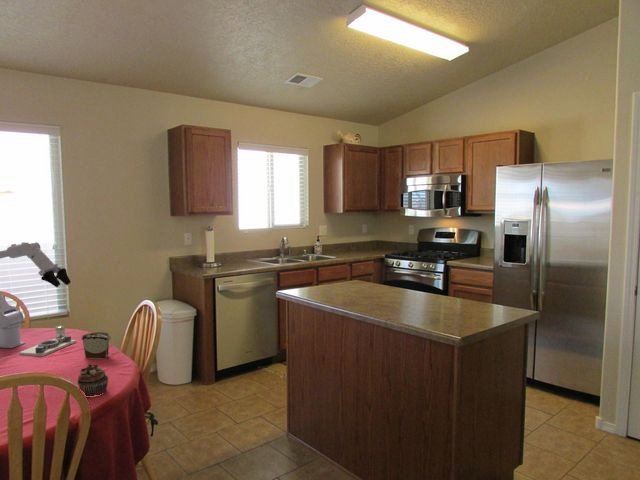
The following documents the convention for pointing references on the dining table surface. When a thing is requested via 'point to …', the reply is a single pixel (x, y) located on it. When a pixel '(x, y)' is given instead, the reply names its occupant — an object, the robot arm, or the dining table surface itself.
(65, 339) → the shaft
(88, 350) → the food container
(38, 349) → the shaft
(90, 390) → the cupcake
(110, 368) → the dining table surface
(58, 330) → the coupler
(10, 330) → the robot arm
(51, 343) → the shaft board
